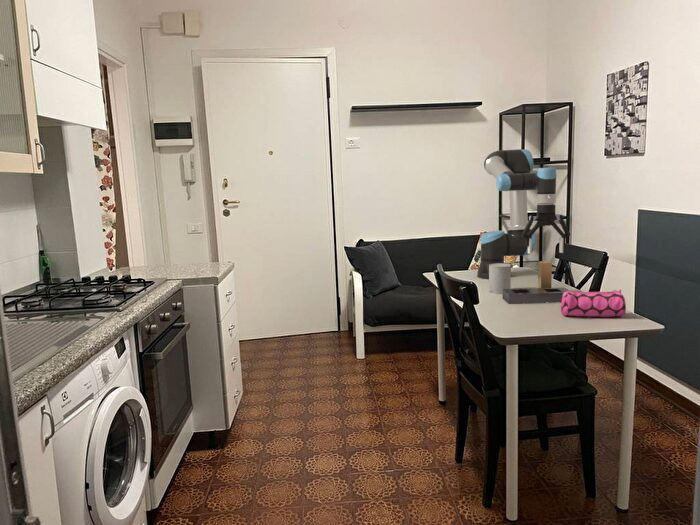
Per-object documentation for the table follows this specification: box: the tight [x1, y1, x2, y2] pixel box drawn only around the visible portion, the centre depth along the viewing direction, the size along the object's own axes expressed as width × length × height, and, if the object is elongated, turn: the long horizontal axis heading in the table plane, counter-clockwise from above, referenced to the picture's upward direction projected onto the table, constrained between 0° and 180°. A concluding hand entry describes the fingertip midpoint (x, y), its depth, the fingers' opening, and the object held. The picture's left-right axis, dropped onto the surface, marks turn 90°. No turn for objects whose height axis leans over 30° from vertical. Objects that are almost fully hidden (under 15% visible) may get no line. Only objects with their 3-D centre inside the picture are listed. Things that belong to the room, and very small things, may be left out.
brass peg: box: [537, 260, 553, 288], centre depth 234 cm, size 4×4×14 cm
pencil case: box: [560, 289, 627, 318], centre depth 197 cm, size 21×10×10 cm, turn 84°
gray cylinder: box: [488, 262, 512, 295], centre depth 241 cm, size 10×10×12 cm
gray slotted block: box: [502, 286, 571, 305], centre depth 223 cm, size 10×26×4 cm, turn 88°
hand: (545, 253), depth 232 cm, fingers open, 13 cm apart
